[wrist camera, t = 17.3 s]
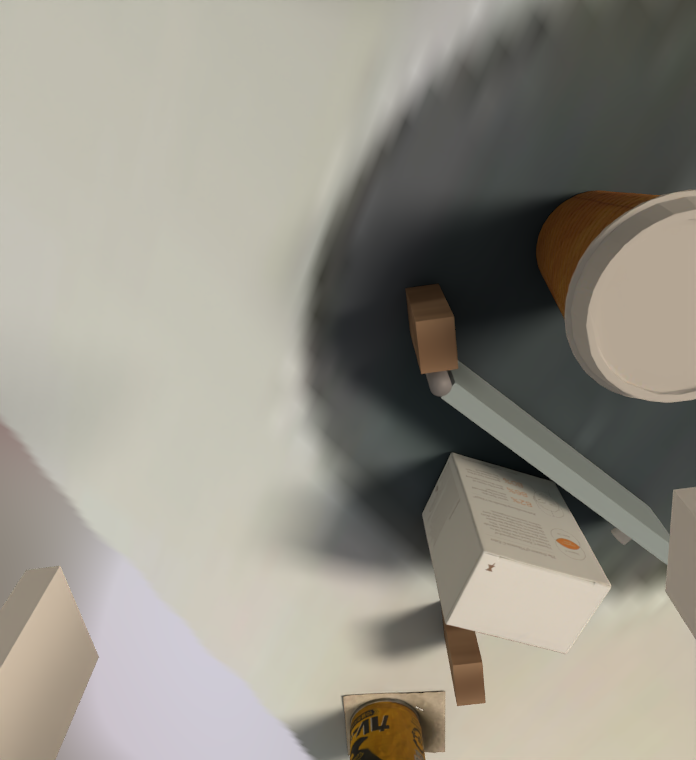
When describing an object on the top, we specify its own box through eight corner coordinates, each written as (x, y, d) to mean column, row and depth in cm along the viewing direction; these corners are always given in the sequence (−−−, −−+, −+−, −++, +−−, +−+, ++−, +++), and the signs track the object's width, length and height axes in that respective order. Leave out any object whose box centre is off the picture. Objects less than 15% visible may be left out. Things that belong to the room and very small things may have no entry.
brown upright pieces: (405, 288, 39) (415, 321, 33) (438, 283, 39) (454, 316, 33) (444, 639, 51) (457, 706, 46) (470, 636, 51) (485, 702, 45)
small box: (420, 512, 46) (440, 625, 36) (450, 448, 44) (480, 551, 34) (522, 541, 47) (567, 658, 38) (556, 480, 45) (614, 588, 35)
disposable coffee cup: (654, 321, 40) (771, 411, 29) (500, 322, 40) (560, 412, 29) (687, 159, 36) (838, 193, 25) (517, 160, 36) (593, 195, 25)
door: (402, 363, 41) (411, 403, 36) (427, 335, 40) (440, 372, 35) (621, 526, 46) (656, 581, 41) (647, 504, 45) (685, 557, 40)
